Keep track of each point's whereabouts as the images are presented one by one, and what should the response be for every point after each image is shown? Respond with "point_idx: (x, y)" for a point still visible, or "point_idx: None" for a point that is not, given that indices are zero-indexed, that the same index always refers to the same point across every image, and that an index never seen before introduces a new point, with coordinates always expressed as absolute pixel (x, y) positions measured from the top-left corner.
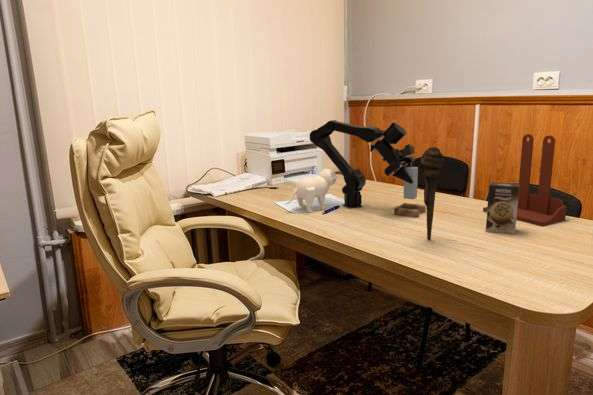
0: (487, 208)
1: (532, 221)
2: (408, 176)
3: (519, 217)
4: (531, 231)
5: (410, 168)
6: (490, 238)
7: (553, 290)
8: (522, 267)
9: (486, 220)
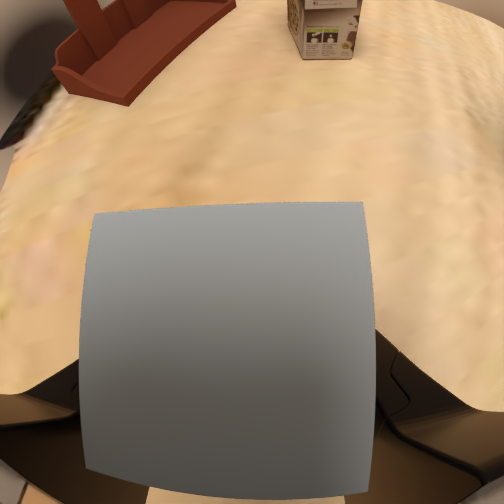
0: (361, 4)
1: (222, 11)
2: (384, 337)
3: (202, 25)
4: (286, 10)
5: (343, 329)
6: (395, 53)
7: (496, 33)
8: (475, 39)
9: (355, 34)
